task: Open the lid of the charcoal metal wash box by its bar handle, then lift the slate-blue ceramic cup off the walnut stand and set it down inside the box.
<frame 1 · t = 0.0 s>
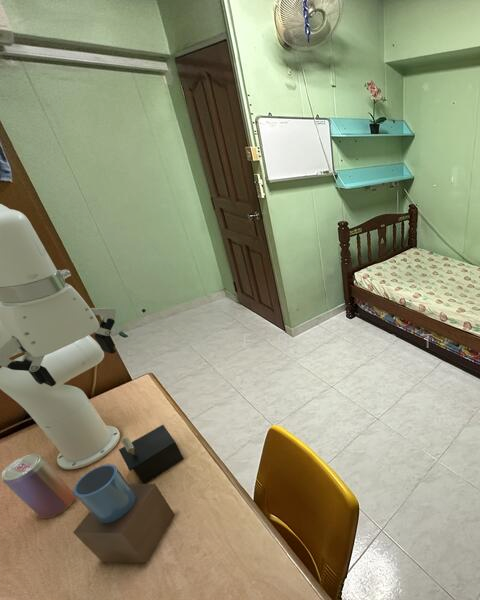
hand: (81, 366, 60), 37 cm above the table, tool pointing down, fingers open, 9 cm apart
stand: (140, 537, 67), on the table
cup: (116, 506, 61), point 12 cm above the table, touching stand
beverage can: (58, 506, 72), on the table
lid: (144, 441, 77), point 9 cm above the table, hinge at 0.0°
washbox: (158, 462, 82), on the table
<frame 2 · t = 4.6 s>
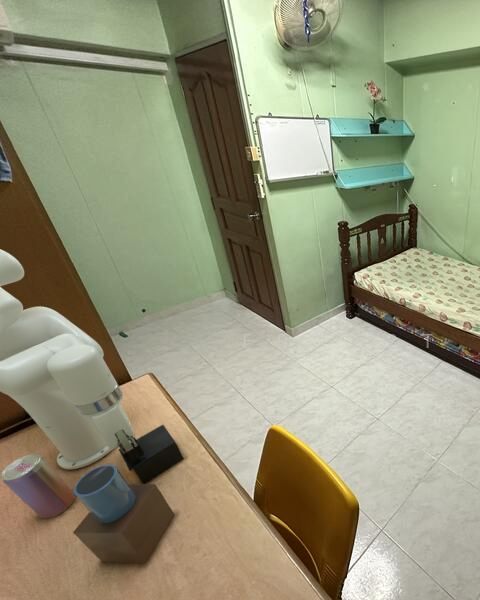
hand: (132, 451, 76), 8 cm above the table, tool pointing down, fingers closed on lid, 4 cm apart
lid: (144, 441, 77), point 9 cm above the table, hinge at 0.0°, touching gripper
everything else where it was.
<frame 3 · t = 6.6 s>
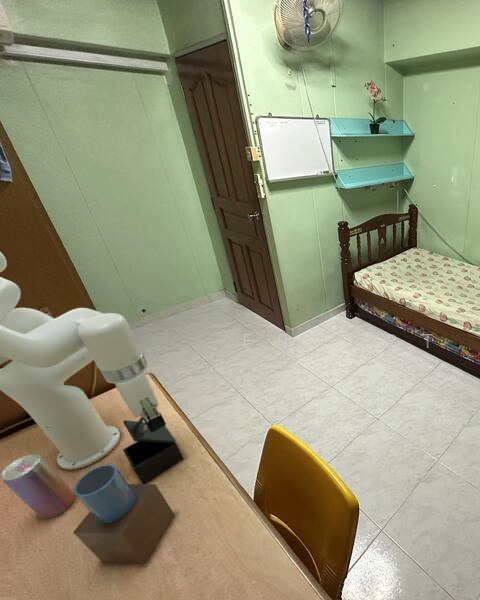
hand: (154, 421, 77), 13 cm above the table, tool pointing down, fingers closed on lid, 4 cm apart
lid: (155, 424, 78), point 12 cm above the table, hinge at 50.2°, touching gripper
everything else where it was.
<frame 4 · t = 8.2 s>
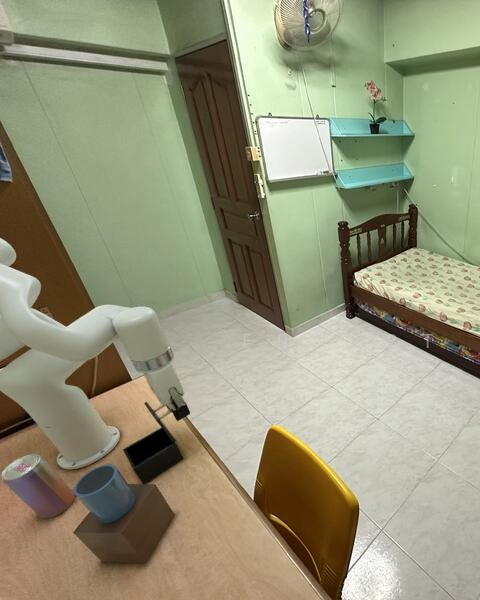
hand: (178, 410, 81), 12 cm above the table, tool pointing down, fingers open, 5 cm apart
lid: (168, 416, 80), point 12 cm above the table, hinge at 83.7°
everything else where it was.
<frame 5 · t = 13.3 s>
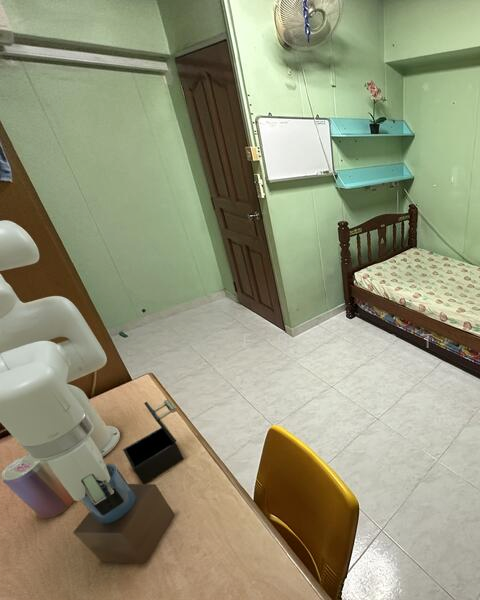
hand: (107, 495, 59), 16 cm above the table, tool pointing down, fingers closed on cup, 6 cm apart
cup: (116, 506, 61), point 12 cm above the table, touching gripper, stand
everything else where it was.
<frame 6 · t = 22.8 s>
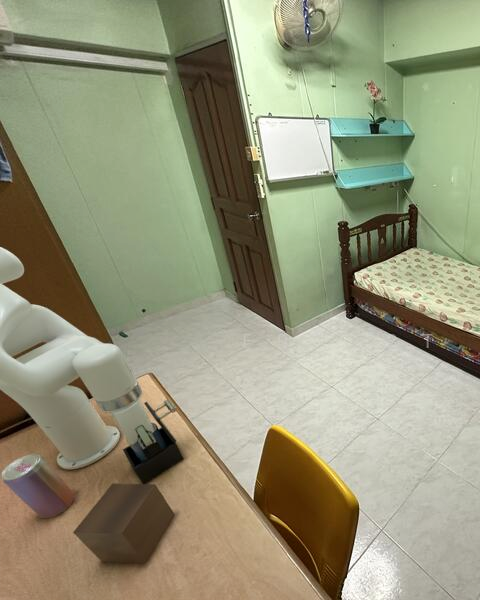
hand: (149, 445, 78), 7 cm above the table, tool pointing down, fingers closed on cup, 6 cm apart
cup: (155, 455, 80), point 3 cm above the table, touching gripper
everything else where it was.
when the fingers open (7 cm above the table, at t = 29.2 s): cup drops 3 cm, resting on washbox.
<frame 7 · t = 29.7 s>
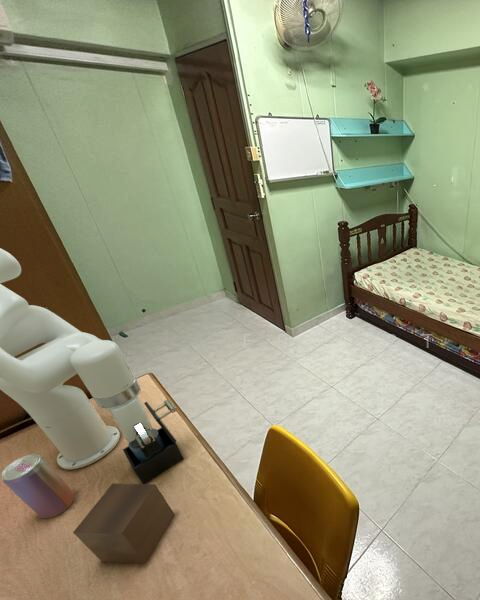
hand: (146, 441, 78), 8 cm above the table, tool pointing down, fingers open, 9 cm apart
cup: (156, 460, 81), resting on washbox
everything else where it was.
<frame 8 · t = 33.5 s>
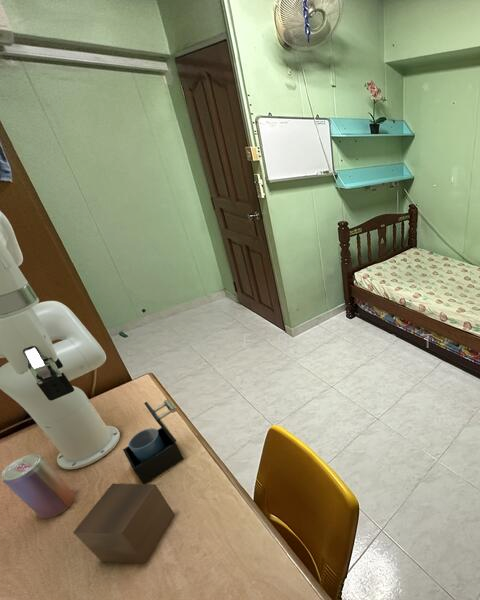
hand: (57, 382, 57), 36 cm above the table, tool pointing down, fingers open, 9 cm apart
nothing on the table moved.
at the end: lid at +84° (first picture: +0°); cup inside the target area in the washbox (0.3 cm from its centre), point 0.5 cm above the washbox's base; cup tilted 0° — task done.
